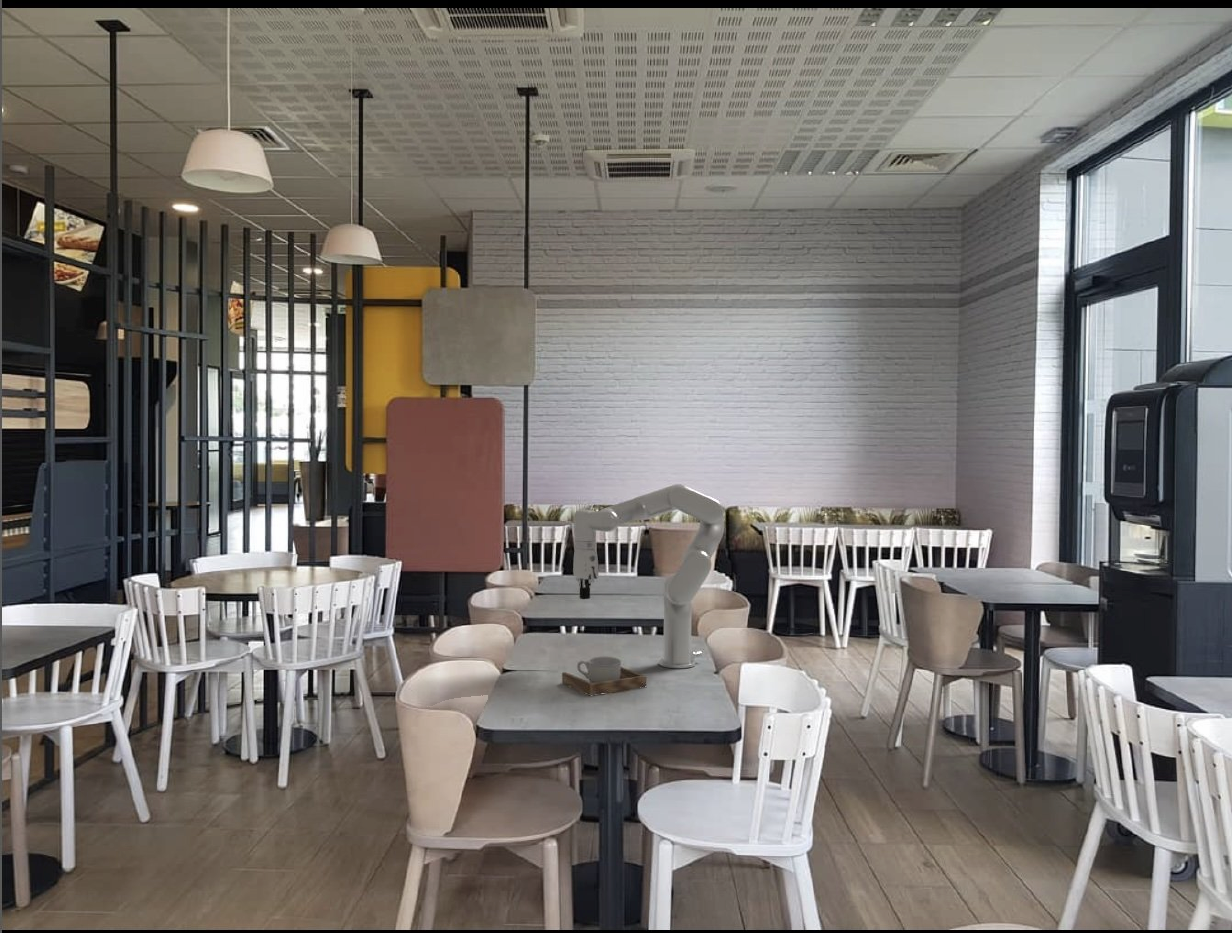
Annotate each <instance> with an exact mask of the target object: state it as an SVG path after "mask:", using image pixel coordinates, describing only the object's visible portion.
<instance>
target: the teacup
mask: <svg viewBox="0 0 1232 933" xmlns="http://www.w3.org/2000/svg"><path fill="white" fill-rule="evenodd" d="M621 663H622V661H621V659H620V658H617V657H612V656H604V655H603V656H594V657H591V658H589V659H587V660H585V659H582V660H579V661H578V662H577V665H576V668H577V671H578V672H579V673H580V674H581V675H582V676H585V678H586V679H587V680H588V682H590V683H598V682H604V681H611V680H618V679H620V670H621V667H622V664H621ZM582 664H584V665H585V667H586V669H587V672H585V671H584V670H583V669H582V668H581V665H582Z"/></svg>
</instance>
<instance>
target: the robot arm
mask: <svg viewBox="0 0 1232 933" xmlns="http://www.w3.org/2000/svg"><path fill="white" fill-rule="evenodd" d="M677 510H678V511H680V512H681V513H683V514H685V515H688V516H690V517H693V518H695V519H697V520H699V527H698V530H697V532H696V534H695V536H694V537H693V540H692V541H691V542H690V544H689V545H688V547H687V548H686V550H685V551H684V553H683V554H682V556H681V560H680V562H681V565H680V566H679V568H678V570H677V572H676V573H672V574H670V575H669V576H668V577H667V578H665V580H664V582H663V588H662V589H663V593H662V594H663V658H661V659H659V660H658V665H660V666H661V667H665V668H668V669H669V668H670V669H688V668H693V667H694V666H696V660H695V658H700V657H702V656H703V653H702V651H693V650H692V601H693V600H694V598H695V597H696V595H697V594H698V592H699V591H700V589H701V587H702V586H703V584H704V583H705V581H706V579H707V578H708V576H709V574H710V572H711V570H712V557H713V555H714V553H715V552H716V550H717V548H718V546H719V545H720V543H721V541H722V539H723V536H724V531H725V518H724V513H725V512H724V507H723V505H722V503H721V501H718V500H717V499H715V498H712V497H711V496H708V495H705V494H703V493H701V492H698V491H696V490H695V489H692V488H690V487H688V486H686V485H684V484H682V483H681V484H680V483H678V484H677V483H676V484H672V485H669V486H667V487H664V488H661V489H658V490H655V491H652V492H648V493H646V494H643V495H639V496H637V497H634V498H632V499H629V500H626V501H623V502H619V503H617V504H614V505H611V506H607V507H604V508H602V509H601V510H596V511H595V510H593V509H578V510H575V512H574V516H573V517H574V525H573V526H574V527H573V528H574V530H573V531H574V532H573V533H574V536H573V537H574V542H573V543H574V546H573V549H574V554H573V562H572V563H573V564H572V565H573V568H572V572H573V576H574V577H575V580H576V581H577V582H578V586H579V599H581V600H588V599H591V586H592V584H594V583H595V580H597V579H599V560H598V553H597V532H598V531H599V532H605V533H611V532H614V531H615V530H616V529H617V528H618V527H619V526H622V525H625V524H627V523H631V522H636V521H645V520H651V519H653V518H656V517H659V516H663V515H665V514H669V513H671V512H674V511H677Z"/></svg>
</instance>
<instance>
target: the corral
mask: <svg viewBox="0 0 1232 933" xmlns="http://www.w3.org/2000/svg"><path fill="white" fill-rule="evenodd" d="M561 679H562V680H561V684H562V683H563V684H562V685H564V684H565V686H566V687H569V686H570V687H569V688H571V687H572V688H571V689H574V690H576V691H578V692H581V693H583V694H585V693H587V694H590V695H595V694H601V693H607V694H612V693H611V692H614V693H619V692H618V691H620V692H625V691H624V690H626V691H631V690H630V689H633V690H636V689H635V688H639V689H641V688H640V687H645V686H646V687H647V675H644V674H641V673H639V672H636V671H634V670H630V669H627V668H625V667H622V666H621V670H620V679H618V680H611V681H604V682H598V683H591V682H590V681H589V680H586V679H583V678H581V677H578V676H576V675H573V674H571V673H569V672H561ZM646 687H645V688H646ZM587 694H586V695H587ZM590 695H589V696H590ZM601 695H602V694H601ZM595 696H596V695H595Z"/></svg>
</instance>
